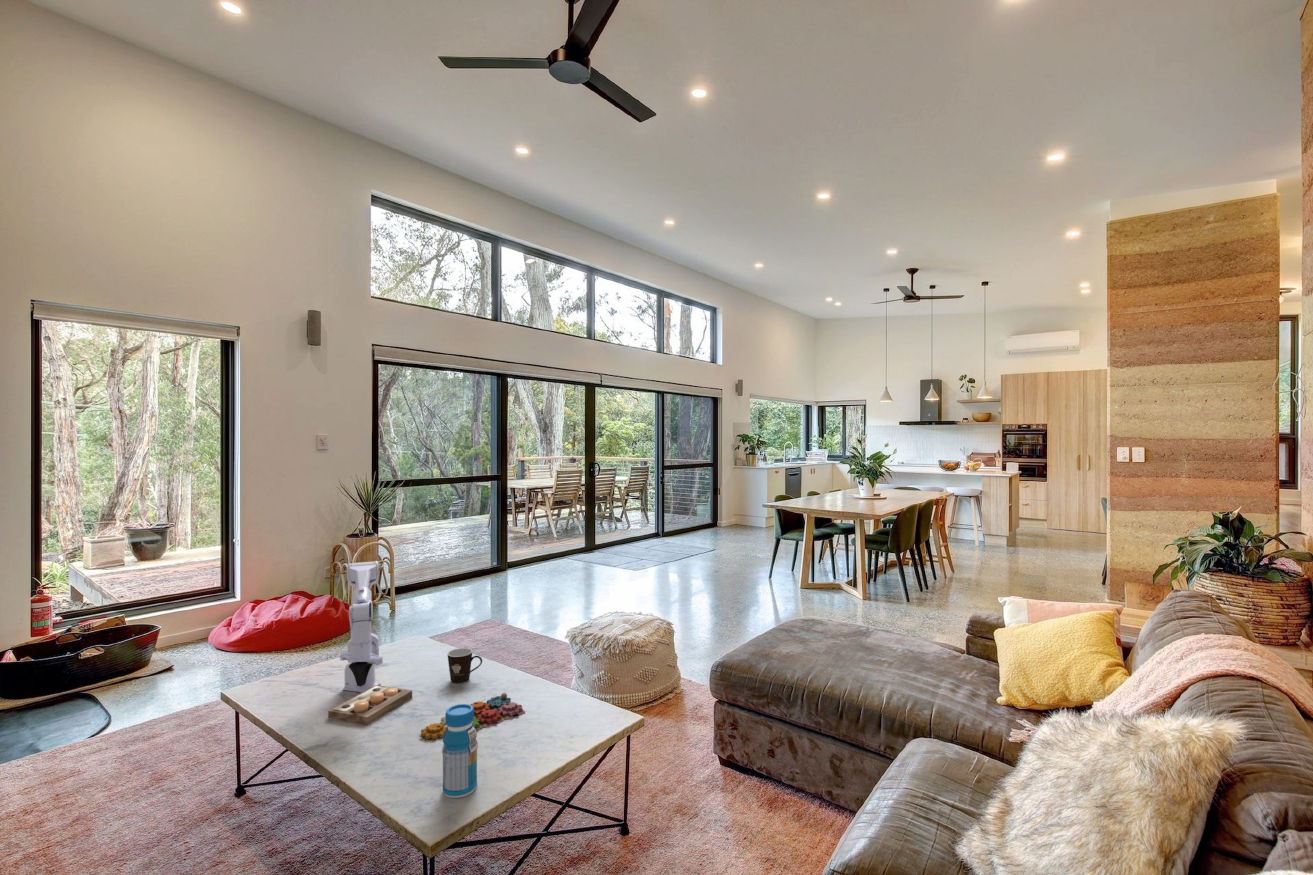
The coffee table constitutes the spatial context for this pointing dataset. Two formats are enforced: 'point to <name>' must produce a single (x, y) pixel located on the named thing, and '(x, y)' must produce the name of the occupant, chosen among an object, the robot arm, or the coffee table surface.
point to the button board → (375, 710)
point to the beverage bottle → (459, 752)
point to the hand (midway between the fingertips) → (361, 684)
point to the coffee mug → (460, 664)
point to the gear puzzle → (481, 715)
